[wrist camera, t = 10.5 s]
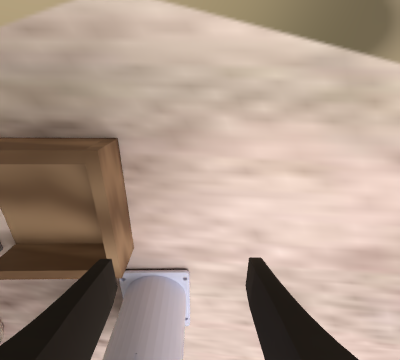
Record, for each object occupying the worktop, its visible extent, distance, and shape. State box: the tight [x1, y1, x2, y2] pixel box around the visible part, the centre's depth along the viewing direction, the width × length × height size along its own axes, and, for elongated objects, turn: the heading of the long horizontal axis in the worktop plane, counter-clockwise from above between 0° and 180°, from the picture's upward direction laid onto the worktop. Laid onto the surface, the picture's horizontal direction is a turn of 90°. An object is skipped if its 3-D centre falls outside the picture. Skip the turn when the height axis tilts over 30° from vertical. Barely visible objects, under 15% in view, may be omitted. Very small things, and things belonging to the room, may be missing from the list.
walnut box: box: [0, 138, 134, 280], centre depth 18 cm, size 12×12×4 cm
